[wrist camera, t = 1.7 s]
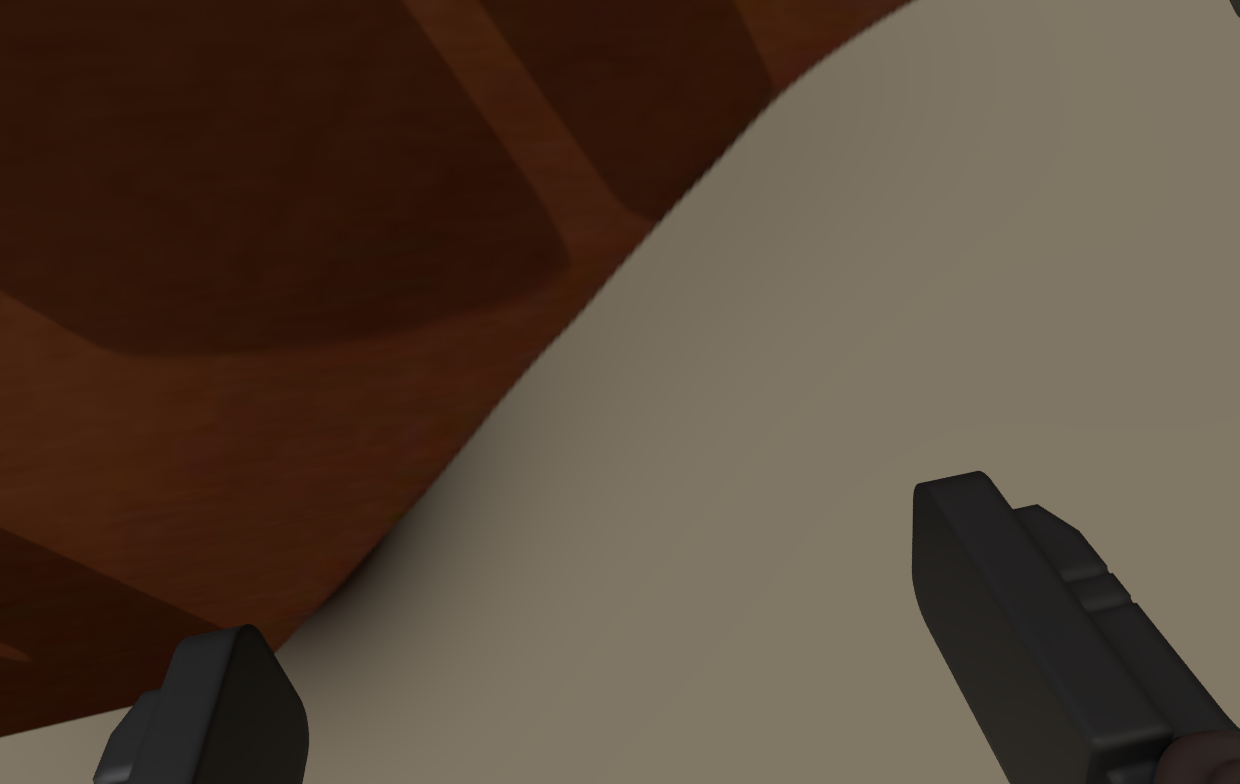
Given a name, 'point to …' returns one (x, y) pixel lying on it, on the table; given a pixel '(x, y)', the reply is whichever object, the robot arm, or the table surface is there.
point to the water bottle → (1236, 6)
